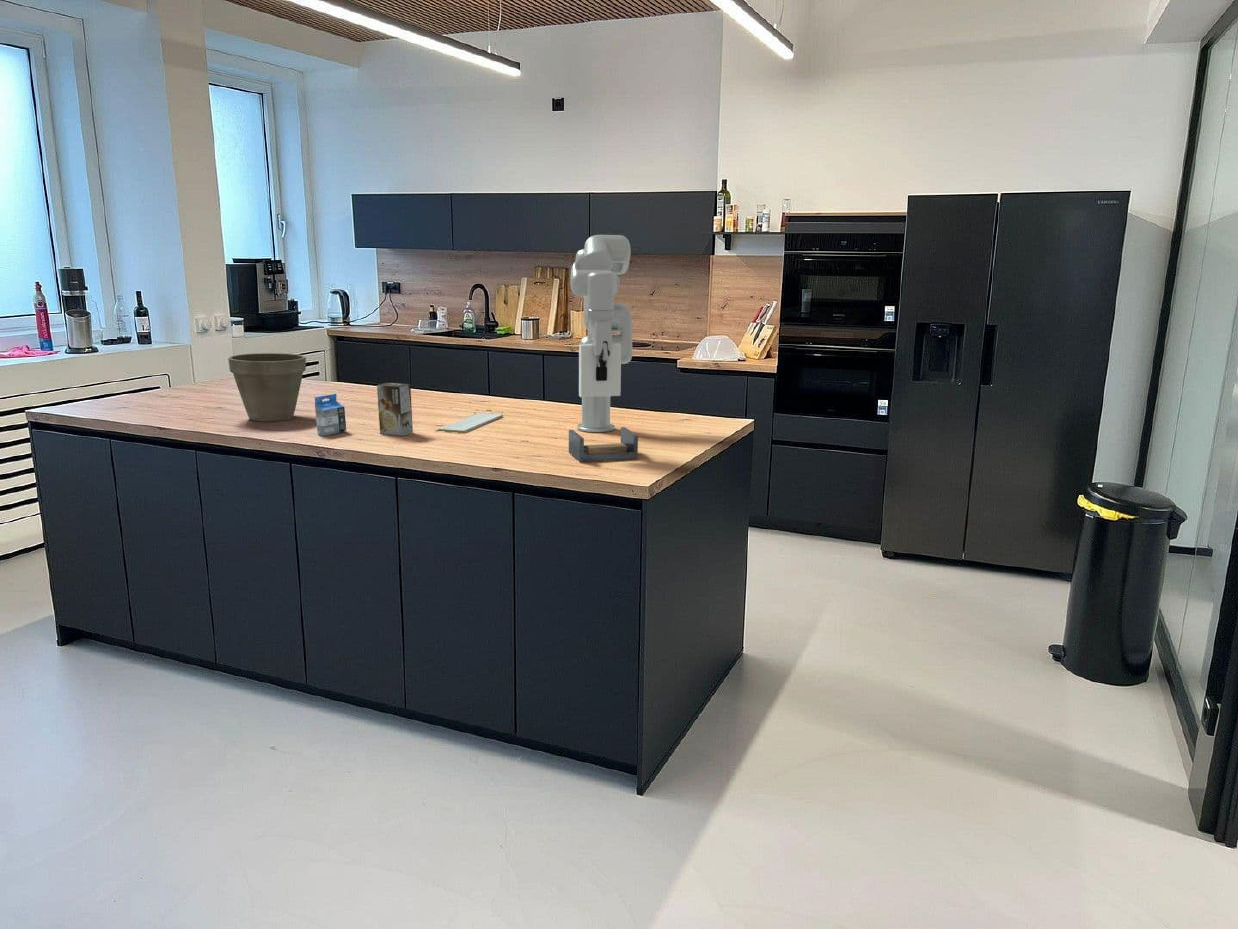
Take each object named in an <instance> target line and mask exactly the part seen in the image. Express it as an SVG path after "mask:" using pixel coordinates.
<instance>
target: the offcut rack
mask: <svg viewBox="0 0 1238 929" xmlns="http://www.w3.org/2000/svg"><path fill="white" fill-rule="evenodd" d="M620 443H623V444H625V445H626V446H627V452H625V453H608V454H591V455H584V452H586V448H587V445H588V444H585V438H584V437H583V436H581V435H580V434H579V433H577V432H576V431H575V430H574V429H568V454H569V453H570V454H569V455H571V454H572V455H571V456H572V457H573V458H574V459H575V460H576V461H577V460H578V461H579V462H578V461H577V462H578V463H580V462H583V463H593V462H592V461H599V462H607V461H606V460H615V461H626V460H627V461H629V460H638V458H639V453H638V452H639V444H638V443H639V435H638V434H637V433H635V432H633V431H631V430H630V429H628V428H627V427H625V426H622V427H621V426H620ZM604 460H605V461H604Z"/></svg>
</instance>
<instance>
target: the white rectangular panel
mask: <svg viewBox="0 0 1238 929" xmlns="http://www.w3.org/2000/svg"><path fill="white" fill-rule="evenodd" d="M607 351H608V349H607ZM600 356H603V354H600ZM601 359H602V358H600V360H601ZM596 367H597V357H595V356H593V355H592V345H590V344H584V345H580V344H579V345H578V396H579V397H580V398H582V397H602V396H610V397H620V396H621V391H622V388H621V386H622V385H621V384H622V382H621V380H622V377H621V376H622V364H621V344H612V351H611V355H610V356H608V361H607V380H606V381H597V380H596Z"/></svg>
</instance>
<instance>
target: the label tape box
mask: <svg viewBox="0 0 1238 929" xmlns="http://www.w3.org/2000/svg"><path fill="white" fill-rule="evenodd" d="M337 395H338V394H337V393H332V394H325V395H319V396H315V397H314V408H315V410H314V411H315V420H316V430H317V435H318V436H322V437H323V436H324V437H326V436H331V435H334V434H339V433H344V432H347V421H346V410H345V406H344V405H343V404H341V403H340V402H338V401H337ZM325 399H326V400H325ZM323 400H324V401H323Z"/></svg>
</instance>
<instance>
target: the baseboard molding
mask: <svg viewBox="0 0 1238 929" xmlns="http://www.w3.org/2000/svg"><path fill="white" fill-rule="evenodd" d="M478 411H479V410H478V409H476V410H475V412H474V414H472V415H470V416H467V417H465V418H463V419H460V420H458V421H455V422H452V423H449V424H448V425H445V426H442V427H440V428H437V429H435V430H434V432H439V431H445V432H444V433H451V432H458V433H457V434H466V433H468V432H470V431H473V430H475V429H477V427H478V428H480V427H482V426H484V425H483V424H485V425H487V424H489V423H492V422H495V421H497V420H498V419H497V418H499V419H501V418H503V417H504V414H503V413H504V412H503V411H502V412H501V413H492V409H486V410H485V412H479V413H476V412H478ZM486 412H490V413H486ZM500 417H501V418H500ZM496 419H497V420H496ZM491 421H492V422H491ZM486 423H487V424H486ZM481 425H482V426H481ZM479 426H480V427H479ZM469 430H470V431H469ZM467 431H468V432H467ZM465 432H466V433H465Z"/></svg>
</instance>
